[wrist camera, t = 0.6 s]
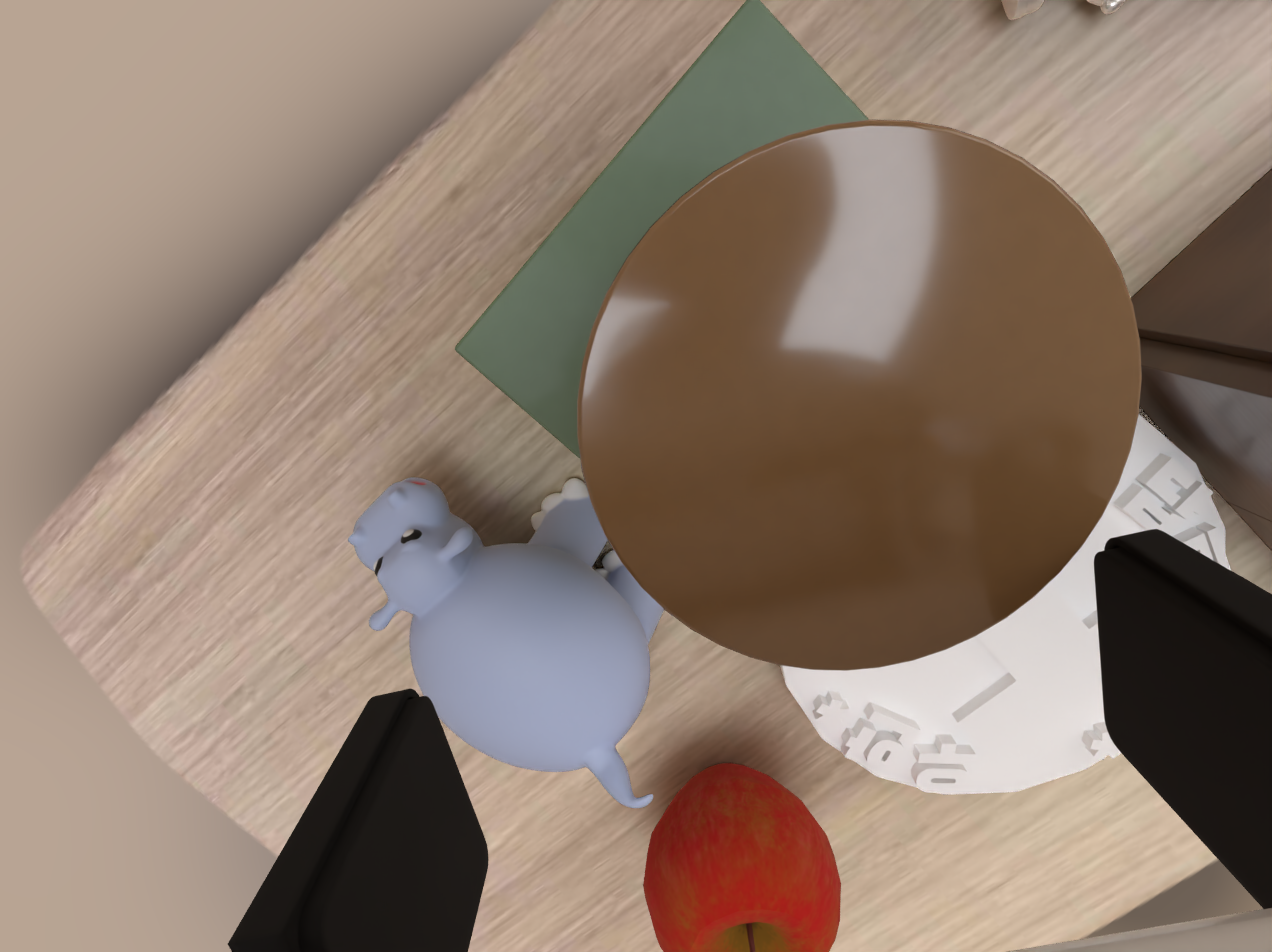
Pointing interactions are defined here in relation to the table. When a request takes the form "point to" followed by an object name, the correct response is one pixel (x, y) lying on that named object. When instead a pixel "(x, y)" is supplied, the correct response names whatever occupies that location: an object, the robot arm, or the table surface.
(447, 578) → the hippopotamus toy
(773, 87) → the stand
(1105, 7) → the figurine
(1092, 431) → the jar
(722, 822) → the apple
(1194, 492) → the white round plaque
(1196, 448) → the wooden storage crate
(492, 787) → the table surface
